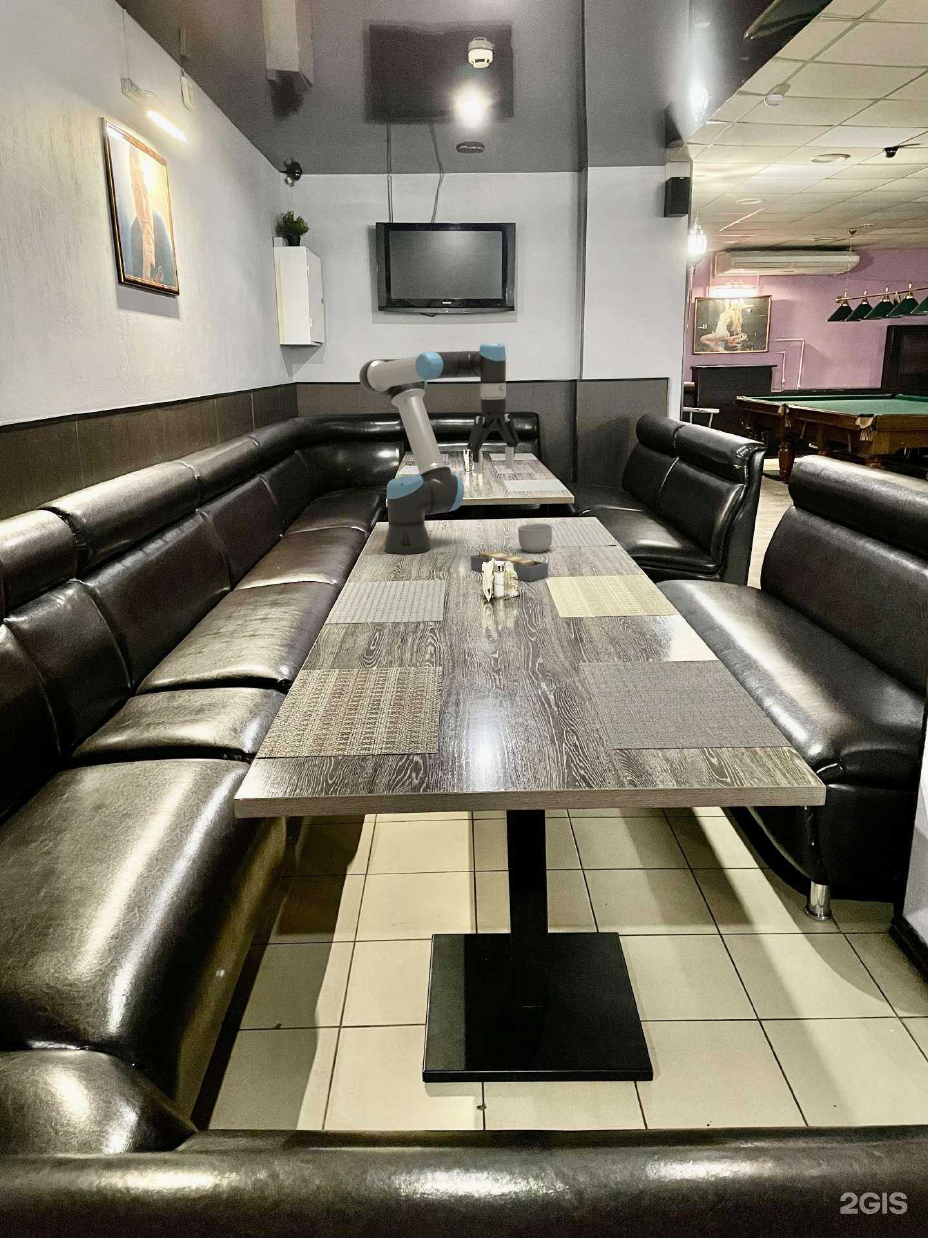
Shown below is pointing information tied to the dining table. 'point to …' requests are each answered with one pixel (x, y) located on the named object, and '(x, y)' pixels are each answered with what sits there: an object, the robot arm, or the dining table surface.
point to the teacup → (535, 537)
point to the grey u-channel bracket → (477, 562)
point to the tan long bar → (507, 558)
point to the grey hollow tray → (532, 571)
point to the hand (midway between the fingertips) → (494, 471)
